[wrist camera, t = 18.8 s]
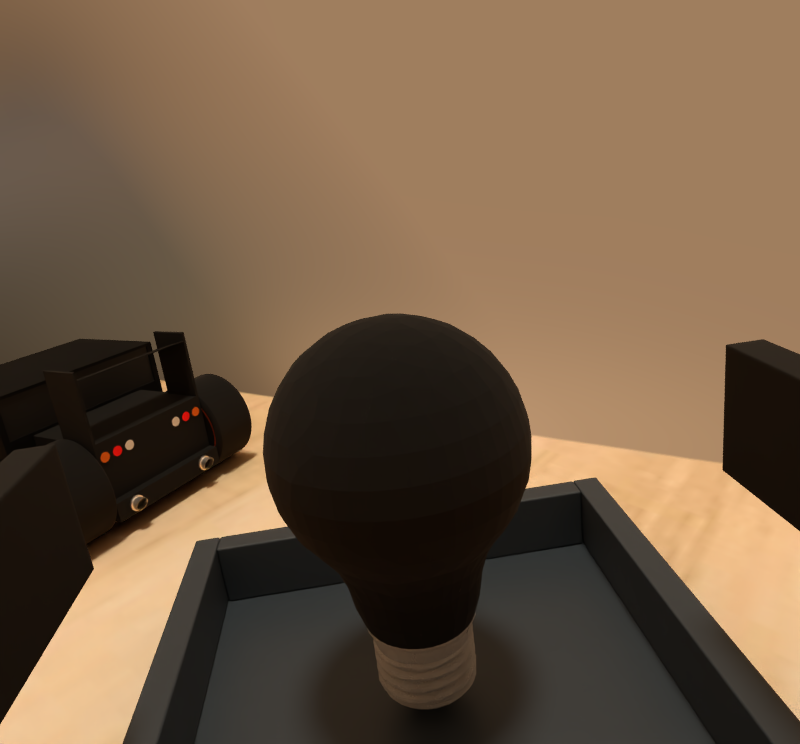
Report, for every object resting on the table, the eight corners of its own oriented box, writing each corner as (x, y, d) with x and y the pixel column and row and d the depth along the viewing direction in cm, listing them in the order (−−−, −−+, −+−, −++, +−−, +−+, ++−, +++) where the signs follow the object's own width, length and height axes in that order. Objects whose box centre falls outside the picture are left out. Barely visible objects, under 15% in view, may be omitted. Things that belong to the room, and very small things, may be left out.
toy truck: (35, 421, 45) (1, 315, 42) (261, 455, 34) (233, 319, 32) (-146, 496, 36) (-200, 368, 34) (83, 571, 26) (28, 396, 24)
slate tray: (598, 542, 24) (596, 476, 23) (872, 933, 12) (887, 823, 11) (212, 606, 23) (195, 540, 22) (78, 1093, 11) (31, 987, 10)
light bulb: (553, 628, 19) (531, 280, 16) (542, 824, 14) (507, 354, 10) (358, 614, 20) (304, 296, 17) (279, 785, 15) (181, 368, 12)
